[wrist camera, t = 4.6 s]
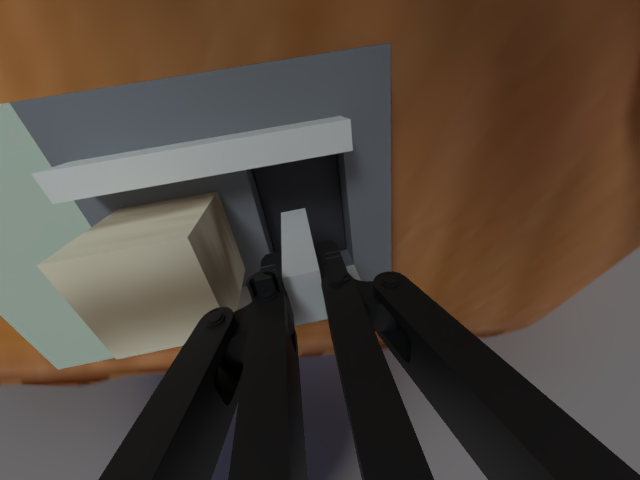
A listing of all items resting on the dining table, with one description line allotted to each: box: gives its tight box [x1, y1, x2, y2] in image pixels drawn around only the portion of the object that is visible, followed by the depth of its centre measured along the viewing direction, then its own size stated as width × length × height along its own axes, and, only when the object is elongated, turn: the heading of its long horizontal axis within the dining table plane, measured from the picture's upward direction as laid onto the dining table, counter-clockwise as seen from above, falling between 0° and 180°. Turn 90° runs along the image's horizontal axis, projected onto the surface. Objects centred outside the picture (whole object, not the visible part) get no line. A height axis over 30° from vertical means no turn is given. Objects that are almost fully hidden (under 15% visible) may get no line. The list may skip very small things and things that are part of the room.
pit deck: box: [0, 43, 392, 369], centre depth 17 cm, size 18×28×5 cm, turn 98°
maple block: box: [37, 191, 245, 360], centre depth 15 cm, size 6×6×6 cm
